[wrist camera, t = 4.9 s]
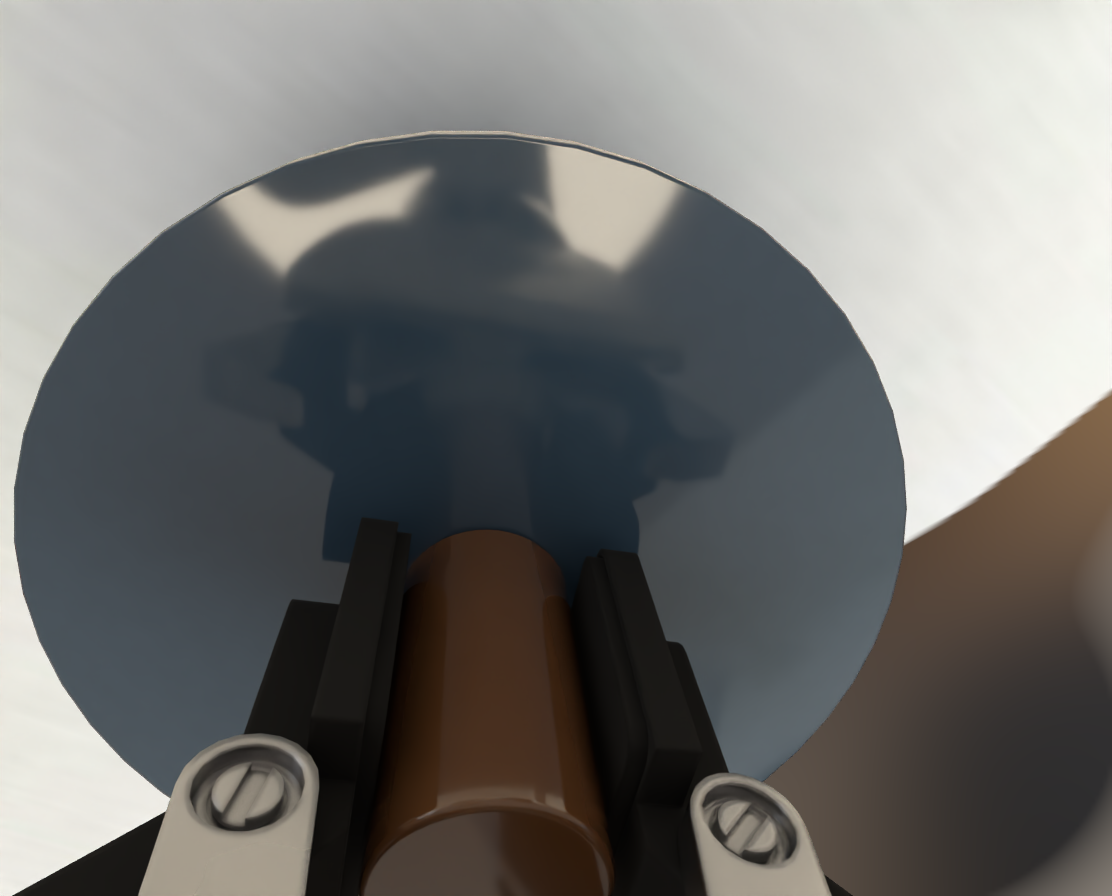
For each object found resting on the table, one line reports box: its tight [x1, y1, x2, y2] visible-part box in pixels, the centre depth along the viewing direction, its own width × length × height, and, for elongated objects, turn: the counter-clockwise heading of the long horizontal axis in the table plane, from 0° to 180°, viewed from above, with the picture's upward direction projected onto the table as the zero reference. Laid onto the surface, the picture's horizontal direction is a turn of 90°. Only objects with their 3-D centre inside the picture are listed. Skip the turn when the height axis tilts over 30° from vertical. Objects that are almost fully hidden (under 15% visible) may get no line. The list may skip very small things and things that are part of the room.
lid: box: [14, 131, 907, 896], centre depth 11 cm, size 14×14×6 cm
